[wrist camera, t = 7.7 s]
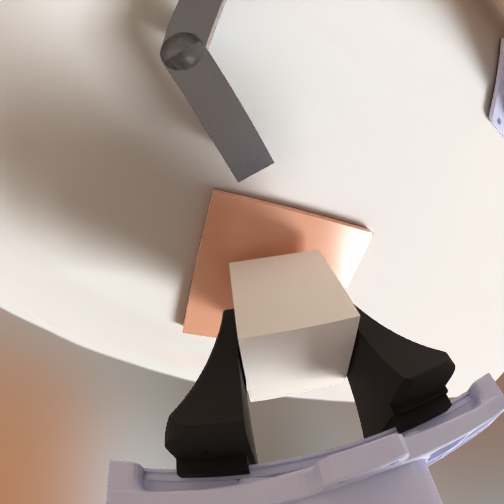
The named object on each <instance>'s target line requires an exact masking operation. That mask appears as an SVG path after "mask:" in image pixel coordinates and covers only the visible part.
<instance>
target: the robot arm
mask: <svg viewBox="0 0 504 504" xmlns="http://www.w3.org/2000/svg"><path fill="white" fill-rule="evenodd" d="M489 119H490V122H491V123H492V124H493V125H494V126H495V127H496V128H497V129H498V131H499V132H500V133H501V134H502V135H503V136H504V38H501V46H500V56H499V64H498V71H497V77H496V83H495V89H494V94H493V99H492V103H491V108H490V112H489ZM354 306H355V305H354ZM355 307H356V309H357V311H358V312H359V314H360V320H359V325H358V330H357V334H356V339H355V343H354V347H353V352H352V356H351V360H350V364H349V367H348V371H347V378H348V381H349V384H350V387H351V390H352V393H353V396H354V399H355V403H356V406H357V410H358V414H359V418H360V422H361V426H362V430H363V436H364V439H362V440H359V441H356V442H353V443H350V444H347V445H343V446H340V447H336V448H333V449H329V450H325V451H321V452H317V453H313V454H309V455H305V456H300V457H296V458H291V459H286V460H280V461H275V462H268V463H262V464H258V461H257V455H256V449H255V444H254V438H253V432H252V426H251V420H250V413H249V408H248V401H247V389H246V377H245V372H244V367H243V362H242V357H241V352H240V347H239V342H238V336H237V328H236V320H235V311H234V309H227V310H224V311H223V315H222V321H221V325H220V329H219V333H218V336H217V339H216V342H215V345H214V347H213V350H212V352H211V355H210V357H209V359H208V361H207V363H206V365H205V367H204V369H203V371H202V373H201V374H200V376H199V378H198V380H197V381H196V383H195V384H194V386H193V387H192V389H191V390H190V392H189V393H188V394H187V396H186V397H185V399H184V400H183V401H182V402H181V403H180V404H179V405H178V407H177V408H176V409H175V410H174V411H173V412H172V413H171V415H170V416H169V418H168V422H167V426H166V431H165V447H166V449H167V450H168V451H169V452H170V453H171V454H172V455H173V456H174V457H175V458H176V462H177V463H176V465H177V466H176V467H177V469H149V468H143V467H142V466H141V465H140V464H137V463H134V462H126V461H116V460H111V461H110V464H109V474H108V486H107V501H106V504H443V503H442V501H441V498H440V496H439V493H438V491H437V488H436V486H435V483H434V481H433V478H432V476H431V474H430V471H429V469H428V467H427V466H429V465H431V464H432V463H434V462H436V461H437V460H439V459H441V458H442V457H444V456H445V455H447V454H449V453H450V452H452V451H454V450H455V449H457V448H458V447H459V446H461V445H463V444H464V443H465V442H467V441H468V440H470V439H471V438H473V437H474V436H475V435H477V434H478V433H480V432H481V431H482V430H484V429H485V428H486V427H488V426H489V425H490V424H491V423H492V422H493V421H494V420H495V419H496V418H497V417H498V416H499V415H500V414H501V413H502V412H503V411H504V395H503V393H502V392H501V390H500V389H499V387H498V385H497V384H496V382H495V381H494V379H493V378H492V377H491V375H490V374H489V373H487V374H486V375H484V376H483V377H481V378H480V379H478V380H477V381H475V382H474V383H473V384H472V385H471V386H470V388H469V389H468V391H467V392H465V393H463V394H462V395H460V396H458V397H456V398H455V399H453V400H451V401H450V400H449V398H448V397H447V395H446V393H447V392H448V390H447V388H446V386H445V385H446V384H447V382H448V381H449V379H450V378H451V376H452V375H453V373H454V370H455V364H454V363H453V361H452V360H451V358H450V357H449V356H448V354H447V353H446V352H443V351H440V350H436V349H432V348H429V347H426V346H423V345H420V344H418V343H415V342H413V341H410V340H408V339H406V338H404V337H402V336H400V335H398V334H396V333H394V332H392V331H391V330H389V329H387V328H386V327H384V326H382V325H381V324H379V323H378V322H376V321H375V320H374V319H372V318H371V317H369V316H368V315H367V314H365V313H364V312H363V311H362V310H360V309H359V308H358V307H357V306H355Z"/></svg>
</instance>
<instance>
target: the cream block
mask: <svg viewBox="0 0 504 504" xmlns="http://www.w3.org/2000/svg"><path fill="white" fill-rule="evenodd" d="M229 268H230V277H231V286H232V295H233V303H234V311H235V320H236V328H237V336H238V342H239V347H240V352H241V357H242V362H243V367H244V372H245V377H246V382H247V387H248V392H249V397H250V401H251V402H254V401H261V400H268V399H273V398H279V397H284V396H290V395H295V394H299V393H304V392H309V391H313V390H317V389H322V388H326V387H330V386H334V385H337V384H341V383H344V382H345V379H346V375H347V371H348V367H349V364H350V360H351V356H352V352H353V347H354V343H355V339H356V334H357V330H358V325H359V320H360V314H359V312H358V311H357V309H356V307H355V306H354V304H353V302H352V301H351V299H350V298H349V296H348V294H347V293H346V291H345V289H344V288H343V286H342V285H341V283H340V282H339V280H338V278H337V277H336V275H335V274H334V272H333V271H332V269H331V267H330V266H329V264H328V263H327V261H326V260H325V258H324V257H323V255H322V254H321V252H320V250H312V251H305V252H299V253H292V254H285V255H279V256H272V257H265V258H258V259H252V260H245V261H238V262H231V263H229Z"/></svg>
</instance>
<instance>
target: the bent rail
mask: <svg viewBox="0 0 504 504" xmlns="http://www.w3.org/2000/svg"><path fill="white" fill-rule="evenodd" d="M225 3H226V0H179V1H178V4H177V6H176V9H175V11H174V14H173V16H172V19H171V22H170V24H169V27H168V30H167V33H166V35H165V38H164V41H163V44H162V47H161V51H160V56H161V60H162V62H163V63H164V65H165V66H166V68H167V69H168V71H169V72H170V74H171V76H172V77H173V79H174V80H175V82H176V83H177V85H178V86H179V88H180V89H181V91H182V93H183V94H184V96H185V97H186V99H187V100H188V102H189V104H190V105H191V107H192V108H193V110H194V111H195V113H196V115H197V116H198V118H199V119H200V121H201V123H202V124H203V126H204V127H205V129H206V131H207V132H208V134H209V135H210V137H211V139H212V140H213V142H214V143H215V145H216V147H217V148H218V150H219V152H220V153H221V155H222V156H223V158H224V160H225V161H226V163H227V165H228V166H229V168H230V170H231V171H232V173H233V174H234V176H235V178H236V179H237V181H238V182H240V181H242V180H244V179H245V178H247V177H249V176H251V175H253V174H254V173H256V172H258V171H260V170H262V169H264V168H265V167H267V166H269V165H271V164H273V163H274V161H273V160H272V158H271V156H270V154H269V152H268V150H267V149H266V147H265V145H264V143H263V141H262V140H261V138H260V136H259V134H258V133H257V131H256V129H255V127H254V125H253V124H252V122H251V120H250V119H249V117H248V115H247V113H246V112H245V110H244V108H243V107H242V105H241V103H240V101H239V100H238V98H237V96H236V95H235V93H234V91H233V90H232V88H231V86H230V85H229V83H228V82H227V80H226V78H225V77H224V75H223V74H222V72H221V70H220V69H219V67H218V66H217V64H216V62H215V61H214V59H213V58H212V56H211V55H210V53H209V52H208V49H209V46H210V43H211V40H212V37H213V34H214V31H215V29H216V26H217V23H218V21H219V18H220V15H221V13H222V10H223V8H224V5H225Z"/></svg>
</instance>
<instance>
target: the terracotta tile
mask: <svg viewBox="0 0 504 504" xmlns="http://www.w3.org/2000/svg"><path fill="white" fill-rule="evenodd" d="M372 236H373V233H372V232H371V231H370V230H369V229H367V228H364V227H360V226H357V225H353V224H350V223H347V222H343V221H340V220H336V219H332V218H329V217H325V216H322V215H318V214H314V213H311V212H307V211H303V210H299V209H295V208H292V207H288V206H284V205H280V204H276V203H272V202H268V201H264V200H259V199H255V198H251V197H247V196H243V195H238V194H234V193H229V192H225V191H221V190H216V189H213V192H212V196H211V200H210V204H209V208H208V212H207V217H206V221H205V225H204V229H203V233H202V238H201V242H200V246H199V251H198V255H197V260H196V264H195V269H194V274H193V278H192V283H191V288H190V293H189V298H188V303H187V308H186V313H185V318H184V324H183V333H188V334H194V335H201V336H208V337H215V338H217V336H218V333H219V329H220V325H221V321H222V315H223V311H224V310H227V309H234V303H233V295H232V286H231V277H230V268H229V263H231V262H238V261H245V260H252V259H258V258H265V257H272V256H279V255H285V254H292V253H299V252H305V251H312V250H320V252H321V254H322V255H323V257H324V258H325V260H326V261H327V263H328V264H329V266H330V267H331V269H332V271H333V272H334V274H335V275H336V277H337V278H338V280H339V282H340V283H341V285H342V286H343V288H344V289H345V290H346V288H347V286H348V284H349V282H350V280H351V279H352V277H353V275H354V273H355V271H356V269H357V267H358V265H359V263H360V261H361V259H362V257H363V255H364V253H365V250H366V248H367V246H368V244H369V242H370V240H371V238H372Z"/></svg>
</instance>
